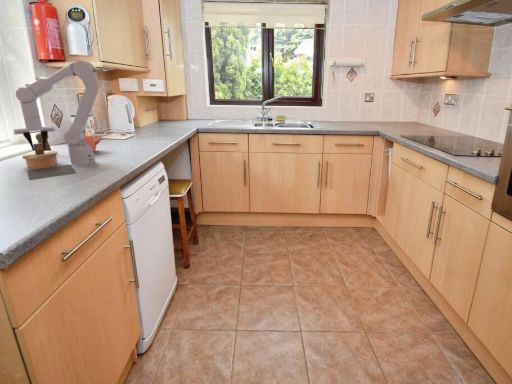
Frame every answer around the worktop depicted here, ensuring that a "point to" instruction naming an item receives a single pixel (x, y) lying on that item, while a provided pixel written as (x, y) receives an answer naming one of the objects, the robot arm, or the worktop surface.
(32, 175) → the mat
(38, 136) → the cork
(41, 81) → the robot arm
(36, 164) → the bowl
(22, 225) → the worktop surface
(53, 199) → the worktop surface
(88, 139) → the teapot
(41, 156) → the lid
